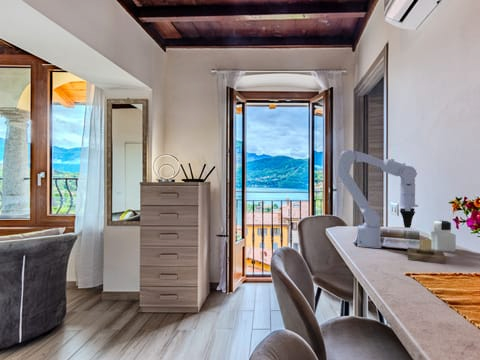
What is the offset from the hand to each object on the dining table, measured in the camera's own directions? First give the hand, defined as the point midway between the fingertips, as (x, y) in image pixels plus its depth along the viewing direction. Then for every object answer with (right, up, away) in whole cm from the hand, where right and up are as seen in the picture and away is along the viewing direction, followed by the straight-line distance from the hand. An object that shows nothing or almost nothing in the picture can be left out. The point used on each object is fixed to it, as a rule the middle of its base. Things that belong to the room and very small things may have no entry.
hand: (407, 226), depth 139 cm
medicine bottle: (+13, -10, -3) cm, 16 cm away
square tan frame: (-1, -10, -15) cm, 18 cm away
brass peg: (-1, -10, -15) cm, 18 cm away
